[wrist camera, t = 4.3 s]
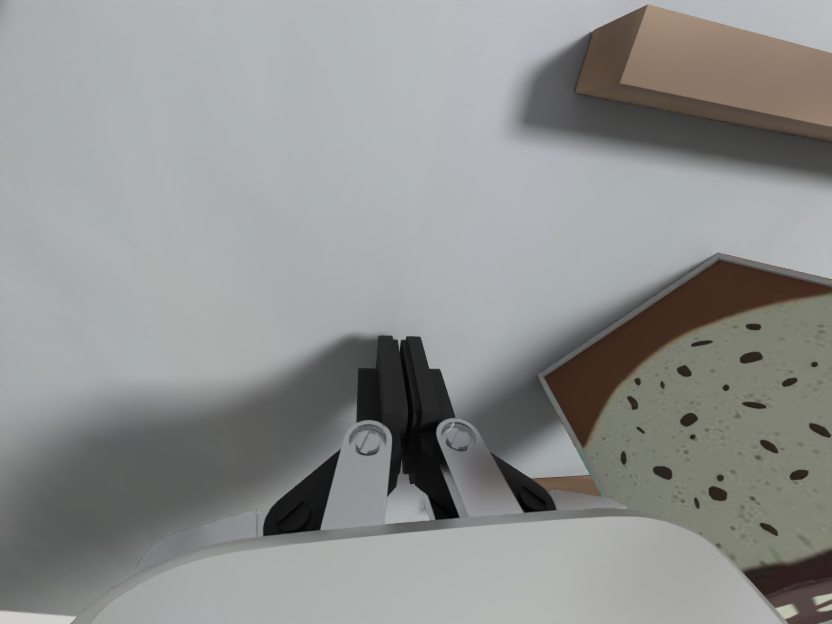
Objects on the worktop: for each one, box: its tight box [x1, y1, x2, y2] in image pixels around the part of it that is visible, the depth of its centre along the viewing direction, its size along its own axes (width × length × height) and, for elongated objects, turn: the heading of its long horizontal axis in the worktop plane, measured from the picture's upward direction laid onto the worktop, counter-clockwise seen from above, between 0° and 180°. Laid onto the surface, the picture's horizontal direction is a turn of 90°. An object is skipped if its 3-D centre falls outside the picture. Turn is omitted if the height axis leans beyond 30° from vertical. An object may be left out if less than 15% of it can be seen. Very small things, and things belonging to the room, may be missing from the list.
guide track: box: [532, 5, 832, 497], centre depth 16 cm, size 23×27×2 cm
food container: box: [537, 253, 832, 624], centre depth 12 cm, size 12×6×10 cm, turn 130°
